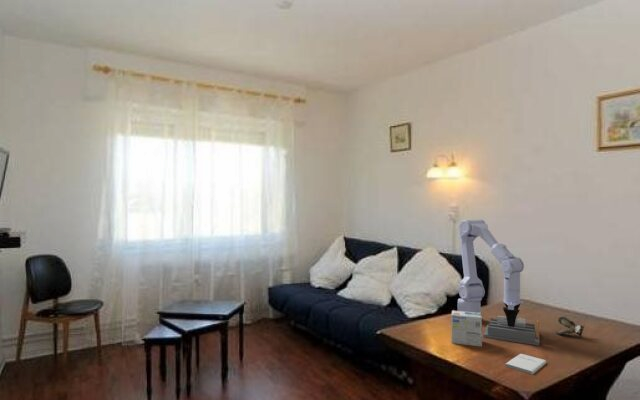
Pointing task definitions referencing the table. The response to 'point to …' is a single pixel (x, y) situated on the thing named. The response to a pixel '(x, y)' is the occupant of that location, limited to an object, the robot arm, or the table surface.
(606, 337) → the table surface
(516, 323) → the panel
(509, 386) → the table surface
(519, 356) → the external hard drive
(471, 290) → the robot arm
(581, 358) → the table surface
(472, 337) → the light bulb box
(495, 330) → the slot rack
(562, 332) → the eagle figurine
